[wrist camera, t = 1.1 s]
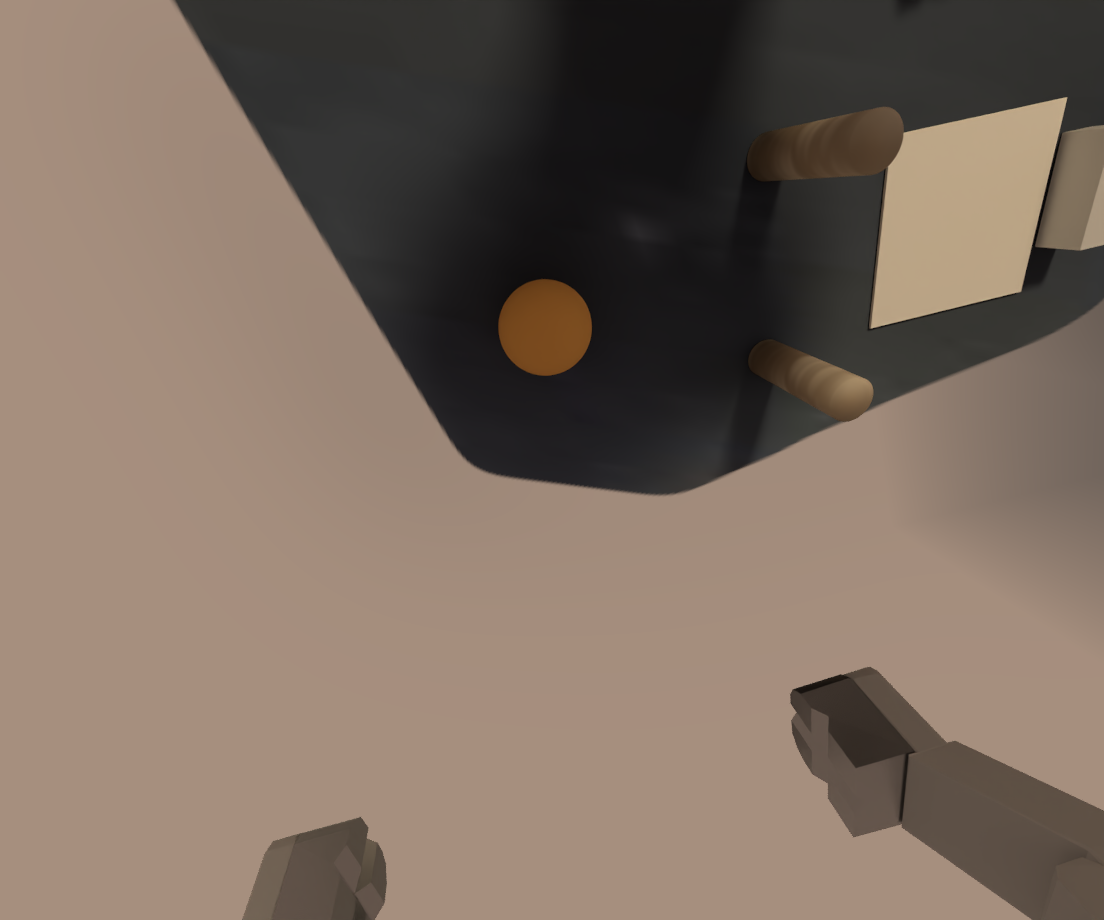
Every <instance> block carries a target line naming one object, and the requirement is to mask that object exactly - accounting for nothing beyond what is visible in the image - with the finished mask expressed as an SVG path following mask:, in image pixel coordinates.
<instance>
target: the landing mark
mask: <svg viewBox="0 0 1104 920" xmlns="http://www.w3.org/2000/svg"><path fill="white" fill-rule="evenodd" d="M1066 101H1067V97H1066V98H1061V99H1056V100H1052V101H1047V102H1043V103H1038V104H1033V105H1029V106H1024V107H1020V108H1015V109H1010V110H1006V111H1001V112H997V113H992V114H987V115H983V116H978V117H974V118H969V119H965V120H960V121H955V122H951V123H946V124H942V125H937V126H932V127H928V128H923V129H919V130H914V131H910V132H905V133H904V134H903V141H902V145H901V147H900V150H899V152H898V154H897V156H896V157H895V159H894V160H893V162H892V163H891V164H890V165H889V166H888V167H887V168H886V171H885V180H884V190H883V199H882V208H881V218H880V227H879V237H878V246H877V256H876V265H875V275H874V284H873V293H872V303H871V312H870V322H869V328H875V327H879V326H883V325H887V324H891V323H895V322H899V321H903V320H907V319H911V318H916V317H920V316H924V315H928V314H932V313H936V312H940V311H944V310H948V309H952V308H956V307H960V306H964V305H968V304H972V303H976V302H980V301H985V300H989V299H993V298H997V297H1001V296H1005V295H1009V294H1013V293H1017V292H1021V289H1022V285H1023V281H1024V277H1025V273H1026V268H1027V264H1028V260H1029V256H1030V252H1031V248H1032V243H1033V239H1034V235H1035V231H1036V227H1037V222H1038V218H1039V214H1040V210H1041V206H1042V201H1043V197H1044V193H1045V189H1046V185H1047V181H1048V176H1049V172H1050V168H1051V164H1052V160H1053V155H1054V151H1055V147H1056V143H1057V139H1058V134H1059V130H1060V126H1061V122H1062V118H1063V114H1064V109H1065V105H1066Z"/></svg>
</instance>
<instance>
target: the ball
mask: <svg viewBox="0 0 1104 920" xmlns="http://www.w3.org/2000/svg"><path fill="white" fill-rule="evenodd" d="M498 328H499V337H500V341H501V345H502V347H503V349H504V351H505V353H506V354H507V356H508V357H509V358H510V360H511V361H512V362H513V363H514V364H515V365H516V366H518V367H519V368H521V369H523V370H525V371H526V372H529V373H532V374H535V375H542V376H548V375H555V374H559V373H562V372H564V371H566V370H568V369H570V368H571V367H573V366H574V365H575V364H576V363H577V362H578V361H579V360H580V359H581V358H582V356H583V355H584V353H585V352H586V350H587V348H588V345H589V343H590V339H591V334H592V321H591V316H590V312H589V310H588V307H587V305H586V303H585V301H584V300H583V299H582V297H581V296H580V295H579V294H578V293H577V292H576V291H575V290H574V289H573V288H571V287H570V286H568V285H566V284H564V283H562V282H559V281H556V280H550V279H540V280H534V281H531V282H528V283H526V284H524V285H522V286H520V287H519V288H517V289H516V290H515V291H514V292H513V293H512V294H511V295H510V296H509V297H508V299H507V300H506V302H505V304H504V305H503V307H502V310H501V313H500V317H499V324H498Z"/></svg>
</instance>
